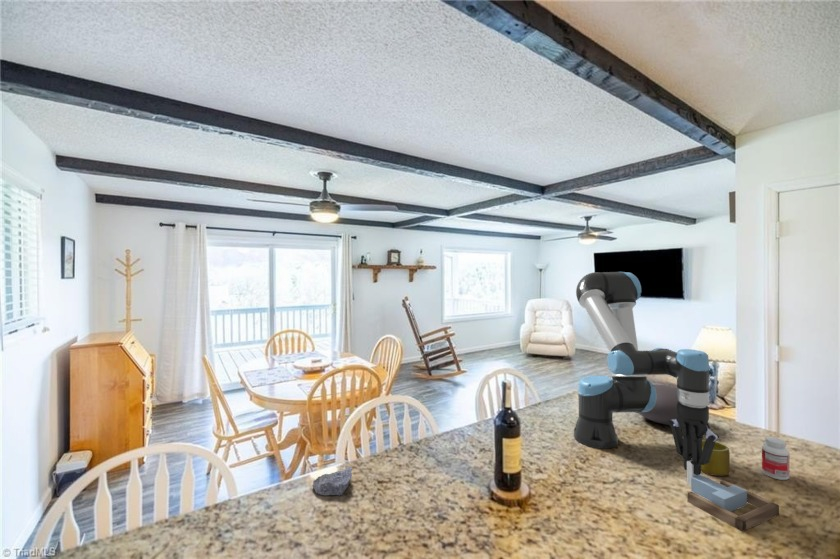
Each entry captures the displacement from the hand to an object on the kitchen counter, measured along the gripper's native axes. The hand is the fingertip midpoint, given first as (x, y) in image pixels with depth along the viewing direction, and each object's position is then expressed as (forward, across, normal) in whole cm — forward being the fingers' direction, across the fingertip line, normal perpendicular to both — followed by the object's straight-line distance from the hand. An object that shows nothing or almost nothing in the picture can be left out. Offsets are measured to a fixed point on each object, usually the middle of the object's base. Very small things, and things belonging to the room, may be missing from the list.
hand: (692, 483), depth 107 cm
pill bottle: (+2, +6, +30) cm, 31 cm away
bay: (+1, +10, 0) cm, 10 cm away
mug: (+2, -5, +16) cm, 17 cm away
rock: (+2, -41, -98) cm, 106 cm away
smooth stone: (+2, -35, +40) cm, 53 cm away
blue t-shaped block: (+1, +6, 0) cm, 6 cm away
